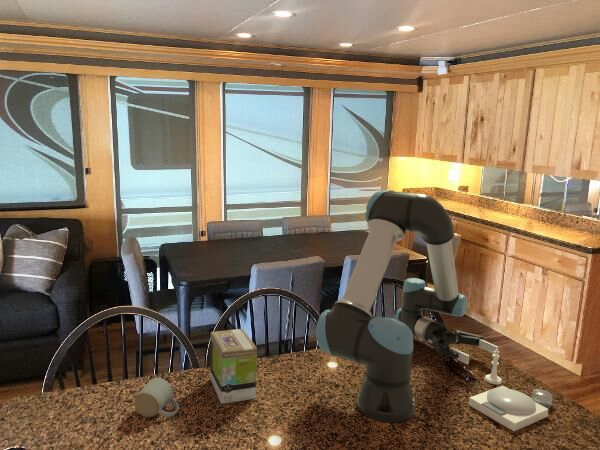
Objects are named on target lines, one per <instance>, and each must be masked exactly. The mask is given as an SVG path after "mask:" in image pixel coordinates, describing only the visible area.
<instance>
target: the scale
mask: <svg viewBox="0 0 600 450" xmlns="http://www.w3.org/2000/svg"><path fill="white" fill-rule="evenodd" d="M468 399H469V400H468V406H470V407H472V408H473V409H474V410H476V411H477V412H480V413H482V414H483V415H485V416H487V417H488V418H491V419H492V420H494V421H495V422H497V423H498V424H501V425H502V426H504V428H507V429H508V430H511V431H512V432H517V431H519V430H520V429H523V428H525V427H527V426H529V425H532V424H534V423H537V422H538V421H541V420H542V419H545V418H548V414H549V408H545V407H544V406H542V405H540V404H538V403H536V402H534V400H533V399H532V397H530V396H529V395H527V394H526V393H524V392H520V391H518V390H515V389H512V388H511V389H510V388H508V387H506V386H504V385H500V386H498V387H495V388H492V389H489V390H487V391H484V392H480V393H478V394H476V395H472V396H470V397H469V398H468Z"/></svg>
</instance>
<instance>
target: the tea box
mask: <svg viewBox="0 0 600 450" xmlns="http://www.w3.org/2000/svg"><path fill="white" fill-rule="evenodd" d="M209 342H210V348H209V349H210V353H209V380H210V382H211V384H212V386H213V388H214V390H215V392H216V395H217V398H218V400H219V402H220V404H230V403H235V402H243V401H248V400H254V399H256V393H257V371H258V370H257V369H258V367H257V366H258V365H257V363H258V348H257V346H256V344H255V343H254V342H253V340H252V338H250V337H249V335H248V334H247V332H246V331H245V330H244V329H243V328H239V329H238V328H237V329H229V330H218V331H211V332H210V341H209Z"/></svg>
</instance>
